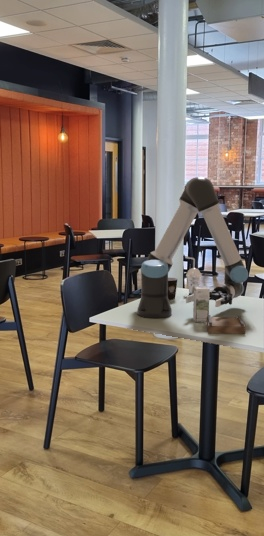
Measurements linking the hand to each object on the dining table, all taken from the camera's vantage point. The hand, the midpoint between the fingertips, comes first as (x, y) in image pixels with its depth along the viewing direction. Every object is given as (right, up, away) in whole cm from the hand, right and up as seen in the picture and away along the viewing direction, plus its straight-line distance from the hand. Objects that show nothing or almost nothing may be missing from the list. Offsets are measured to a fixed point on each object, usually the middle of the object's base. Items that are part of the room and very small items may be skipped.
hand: (201, 301), depth 220 cm
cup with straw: (+3, 0, +58) cm, 58 cm away
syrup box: (0, -8, +2) cm, 9 cm away
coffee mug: (-12, -1, +47) cm, 49 cm away
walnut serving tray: (+8, -10, -10) cm, 16 cm away
